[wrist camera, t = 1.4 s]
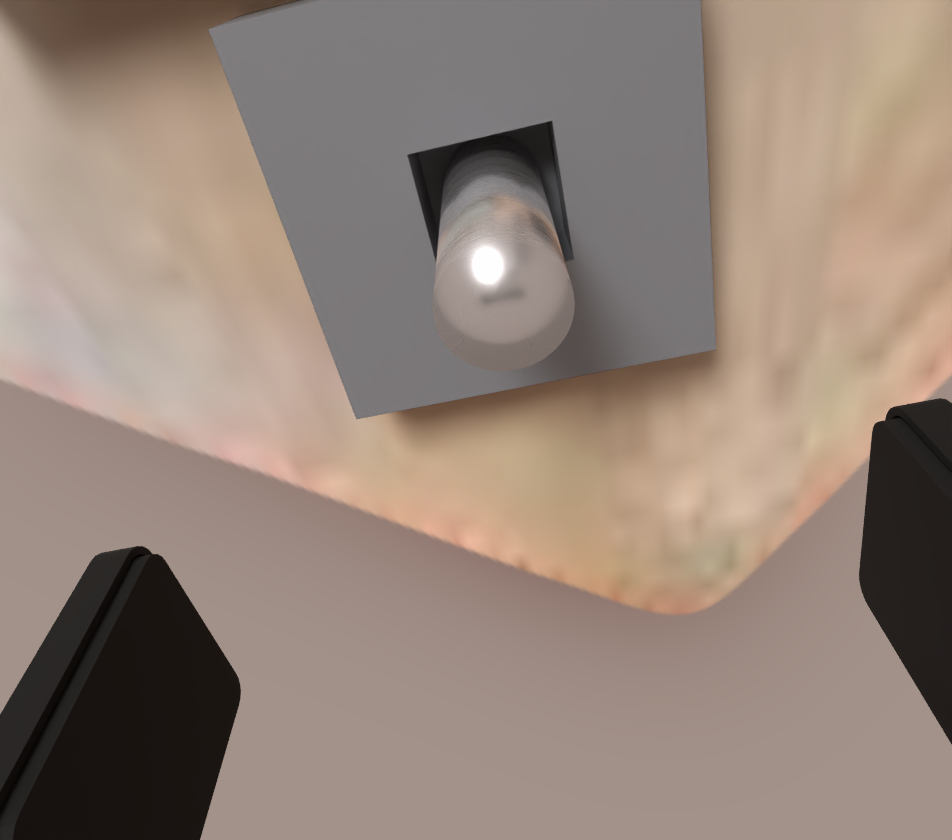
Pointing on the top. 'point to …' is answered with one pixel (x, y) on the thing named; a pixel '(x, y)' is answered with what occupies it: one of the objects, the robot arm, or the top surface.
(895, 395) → the top surface
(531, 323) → the pin
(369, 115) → the grey square hole plate
